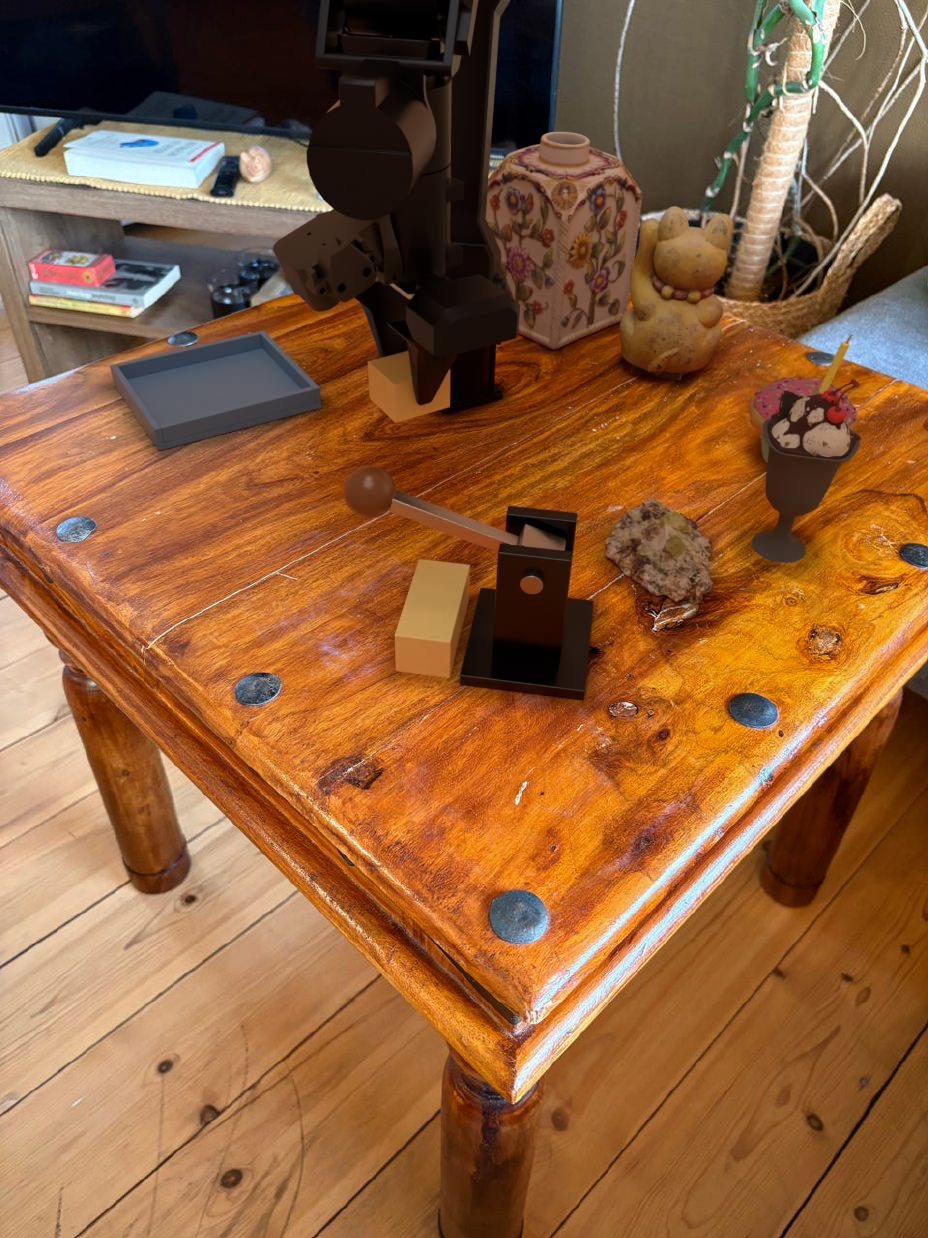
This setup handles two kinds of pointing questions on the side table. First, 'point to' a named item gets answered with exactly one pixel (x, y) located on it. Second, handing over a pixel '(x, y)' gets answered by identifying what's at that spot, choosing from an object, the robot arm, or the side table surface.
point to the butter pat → (401, 388)
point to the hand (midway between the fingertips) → (409, 389)
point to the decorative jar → (565, 236)
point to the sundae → (802, 464)
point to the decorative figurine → (675, 295)
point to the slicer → (531, 617)
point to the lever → (432, 513)
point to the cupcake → (770, 394)
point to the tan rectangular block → (432, 618)
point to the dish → (214, 389)
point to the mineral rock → (662, 552)
